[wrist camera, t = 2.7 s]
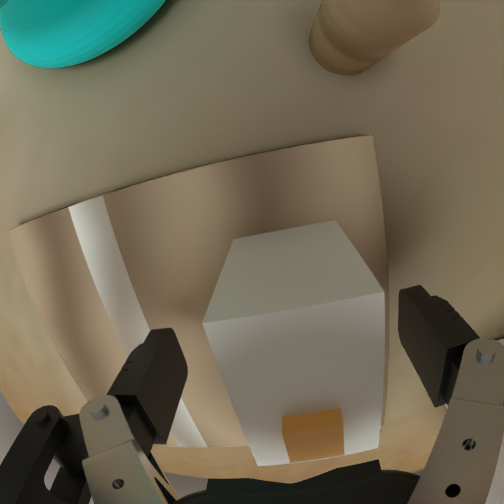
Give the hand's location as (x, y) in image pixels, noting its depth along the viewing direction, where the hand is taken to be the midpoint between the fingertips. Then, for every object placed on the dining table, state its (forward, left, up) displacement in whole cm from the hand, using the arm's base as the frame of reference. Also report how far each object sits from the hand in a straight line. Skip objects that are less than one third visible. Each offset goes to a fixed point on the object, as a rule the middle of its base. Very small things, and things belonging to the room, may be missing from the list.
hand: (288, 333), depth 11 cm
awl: (-4, -10, -4) cm, 12 cm away
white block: (0, 0, -3) cm, 3 cm away
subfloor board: (+5, +2, -4) cm, 6 cm away
